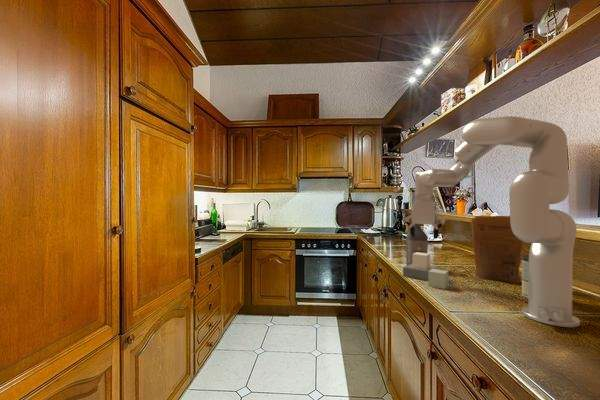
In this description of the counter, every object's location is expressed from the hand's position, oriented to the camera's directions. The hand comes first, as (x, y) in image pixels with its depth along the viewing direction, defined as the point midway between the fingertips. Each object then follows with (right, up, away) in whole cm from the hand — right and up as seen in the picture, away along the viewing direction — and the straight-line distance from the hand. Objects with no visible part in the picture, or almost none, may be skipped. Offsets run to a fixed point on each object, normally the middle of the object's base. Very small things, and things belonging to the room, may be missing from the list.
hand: (424, 237), depth 125 cm
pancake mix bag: (+31, -18, -3) cm, 36 cm away
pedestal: (0, -18, +2) cm, 18 cm away
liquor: (+5, -18, +19) cm, 27 cm away
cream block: (0, -14, +2) cm, 14 cm away
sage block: (0, -18, -12) cm, 22 cm away
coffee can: (+30, -18, -25) cm, 43 cm away
